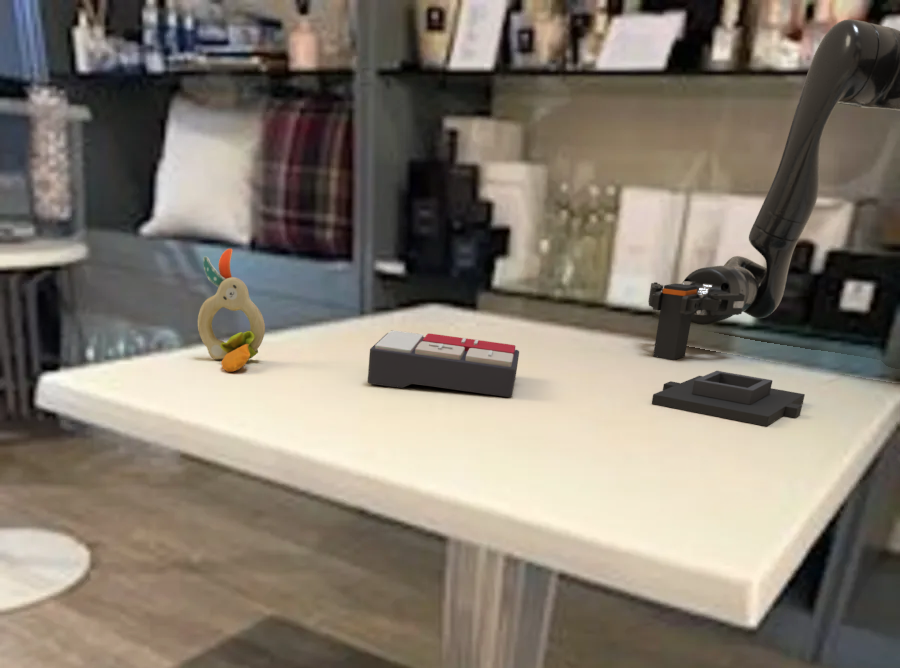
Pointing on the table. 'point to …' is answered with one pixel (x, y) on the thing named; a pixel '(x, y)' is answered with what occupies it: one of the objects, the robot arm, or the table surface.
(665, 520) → the table surface
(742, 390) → the base pad
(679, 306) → the dark grey block
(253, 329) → the rattle
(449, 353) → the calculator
